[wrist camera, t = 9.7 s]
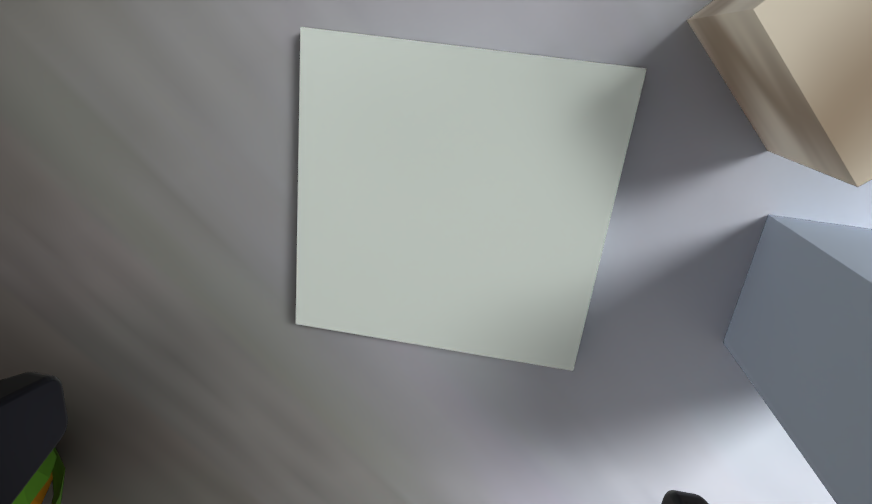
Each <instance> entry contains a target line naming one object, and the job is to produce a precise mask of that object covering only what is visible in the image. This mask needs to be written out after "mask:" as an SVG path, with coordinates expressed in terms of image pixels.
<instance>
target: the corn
mask: <svg viewBox="0 0 872 504" xmlns="http://www.w3.org/2000/svg"><path fill="white" fill-rule="evenodd" d="M64 475H65V467H64V465H63V462H62V460H61V458H60V456H59V454H58V452H57V450H56V448H54V449H53V450H52V452H51V453H50V454H49V455H48V457H47V458H46V459H45V461H44V462H43V463H42V465H41V466H40V467H39V469H38V470H37V471H36V473H35V474H34V475H33V477H32V478H31V479H30V481H29V482H28V483H27V485H26V486H25V487H24V489H23V490H22V491H21V493H20V494H19V495H18V496H17V498H16V499H15V500H14V502H13V503H12V504H42V502H43V499H44V497H45V495H46V493H47V491H48V489H49V486H50V484H51V482H52V480H53V491H54V496H53V500H52V504H61V498H62V490H63V483H64Z"/></svg>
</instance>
